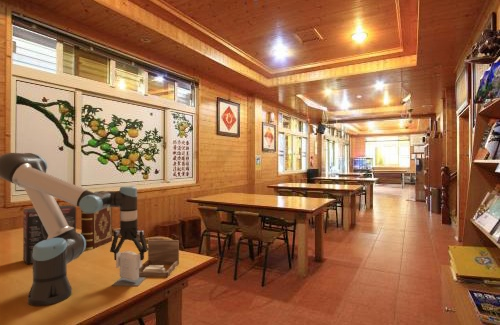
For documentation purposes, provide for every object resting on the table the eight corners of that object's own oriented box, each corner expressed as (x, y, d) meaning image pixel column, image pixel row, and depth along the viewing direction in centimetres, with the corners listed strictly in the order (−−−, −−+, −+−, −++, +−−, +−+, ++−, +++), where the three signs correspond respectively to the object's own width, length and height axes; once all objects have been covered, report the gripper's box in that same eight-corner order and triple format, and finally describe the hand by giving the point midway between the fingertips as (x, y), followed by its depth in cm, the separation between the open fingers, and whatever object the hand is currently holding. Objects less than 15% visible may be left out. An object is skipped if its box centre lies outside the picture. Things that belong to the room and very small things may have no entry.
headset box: (70, 250, 188) (70, 198, 187) (77, 255, 179) (76, 200, 179) (22, 260, 170) (22, 202, 170) (26, 265, 161) (26, 205, 161)
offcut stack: (161, 276, 144) (161, 269, 144) (141, 276, 145) (141, 269, 145) (165, 271, 151) (165, 264, 151) (146, 271, 151) (146, 264, 151)
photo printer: (140, 278, 138) (140, 251, 138) (133, 281, 134) (132, 254, 134) (125, 274, 143) (125, 248, 143) (118, 277, 139) (117, 251, 139)
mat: (137, 286, 134) (137, 285, 134) (112, 285, 134) (112, 284, 134) (145, 278, 143) (145, 277, 143) (121, 277, 143) (121, 277, 143)
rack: (168, 277, 144) (167, 250, 144) (134, 276, 144) (134, 250, 144) (178, 263, 163) (178, 240, 162) (149, 263, 163) (148, 240, 163)
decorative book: (89, 250, 188) (89, 203, 188) (78, 249, 190) (78, 203, 189) (112, 240, 210) (112, 198, 210) (102, 240, 212) (102, 198, 211)
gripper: (155, 217, 141) (155, 264, 142) (109, 217, 142) (110, 263, 142) (149, 221, 134) (149, 269, 134) (101, 221, 135) (101, 269, 135)
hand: (129, 266), depth 138 cm, fingers closed on photo printer, 10 cm apart
